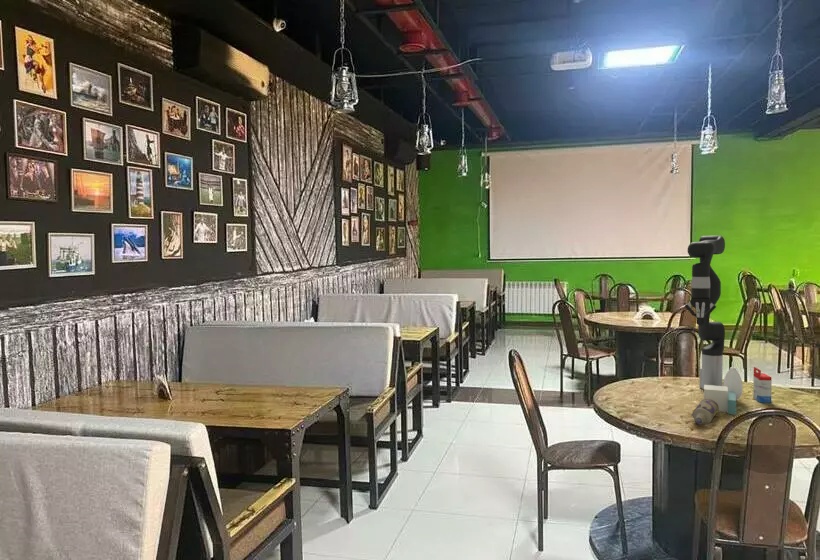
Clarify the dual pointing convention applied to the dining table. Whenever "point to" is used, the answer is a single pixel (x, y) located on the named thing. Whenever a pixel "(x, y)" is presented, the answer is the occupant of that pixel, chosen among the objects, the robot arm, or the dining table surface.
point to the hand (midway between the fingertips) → (700, 325)
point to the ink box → (761, 386)
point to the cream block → (717, 396)
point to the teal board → (731, 403)
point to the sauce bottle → (733, 382)
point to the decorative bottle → (705, 411)
